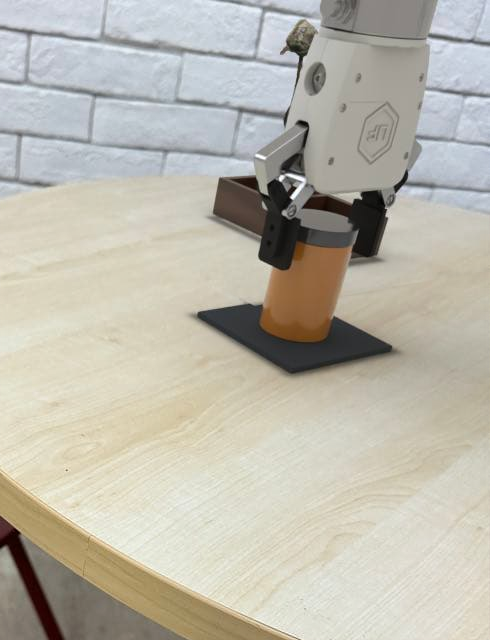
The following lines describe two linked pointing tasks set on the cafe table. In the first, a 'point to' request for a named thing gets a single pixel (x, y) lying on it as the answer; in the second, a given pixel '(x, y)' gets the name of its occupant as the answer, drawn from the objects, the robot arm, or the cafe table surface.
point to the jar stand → (247, 212)
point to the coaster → (294, 355)
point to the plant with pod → (299, 47)
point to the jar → (310, 278)
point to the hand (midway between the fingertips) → (316, 258)
